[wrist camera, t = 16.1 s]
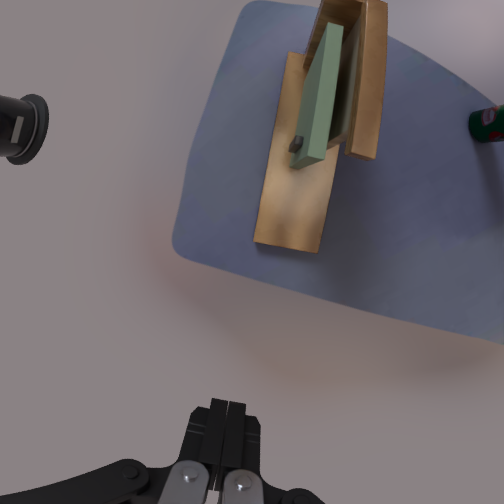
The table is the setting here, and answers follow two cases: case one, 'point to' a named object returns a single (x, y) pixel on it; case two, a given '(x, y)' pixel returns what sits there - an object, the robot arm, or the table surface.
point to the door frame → (341, 129)
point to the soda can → (488, 124)
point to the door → (317, 101)
